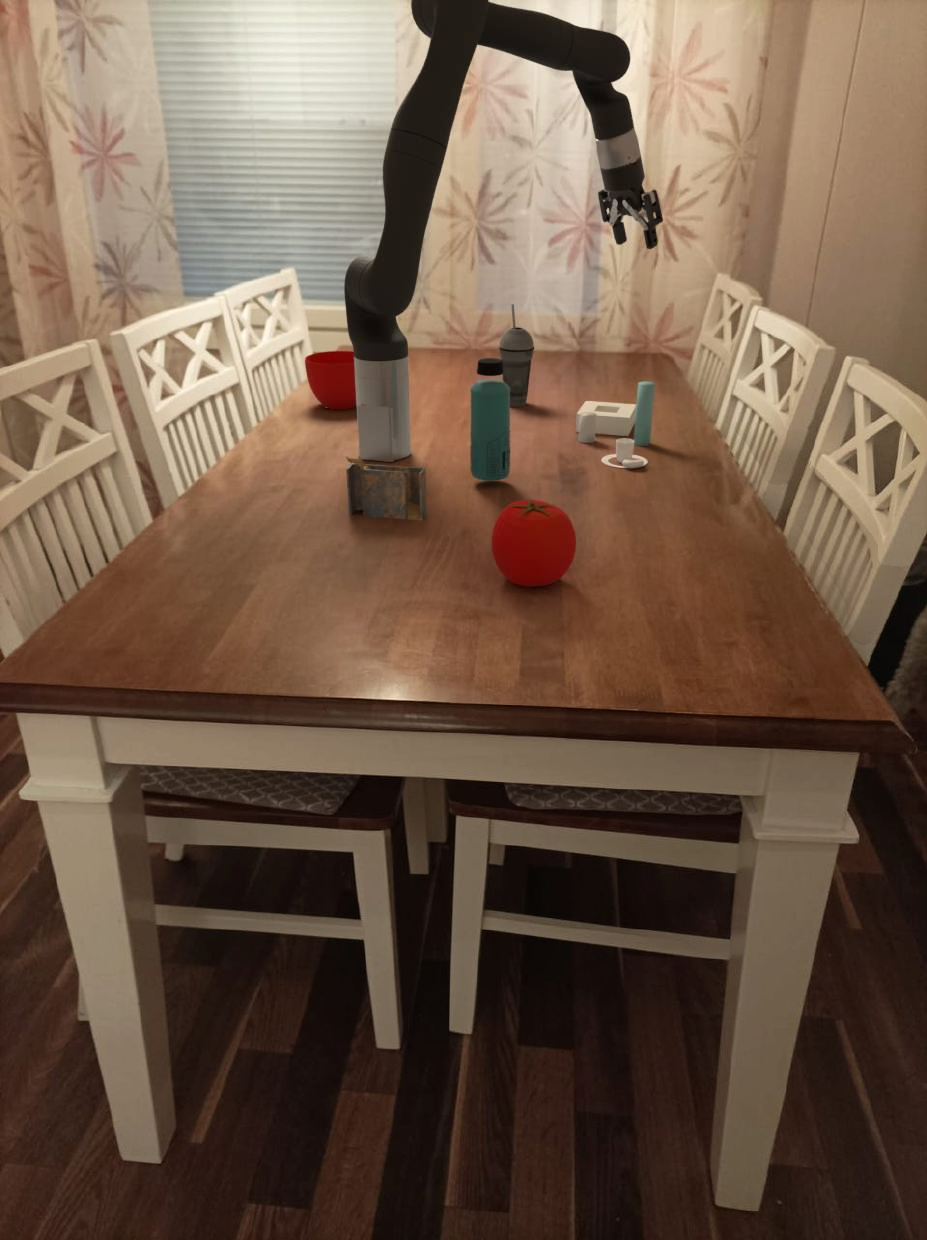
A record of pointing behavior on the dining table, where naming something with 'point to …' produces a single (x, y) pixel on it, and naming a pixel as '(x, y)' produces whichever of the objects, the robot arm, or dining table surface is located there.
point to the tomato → (533, 543)
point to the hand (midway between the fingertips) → (637, 245)
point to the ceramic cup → (332, 378)
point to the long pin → (644, 413)
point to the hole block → (610, 417)
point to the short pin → (587, 427)
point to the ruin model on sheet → (386, 490)
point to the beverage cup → (516, 362)
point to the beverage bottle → (490, 423)
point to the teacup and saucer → (625, 455)
